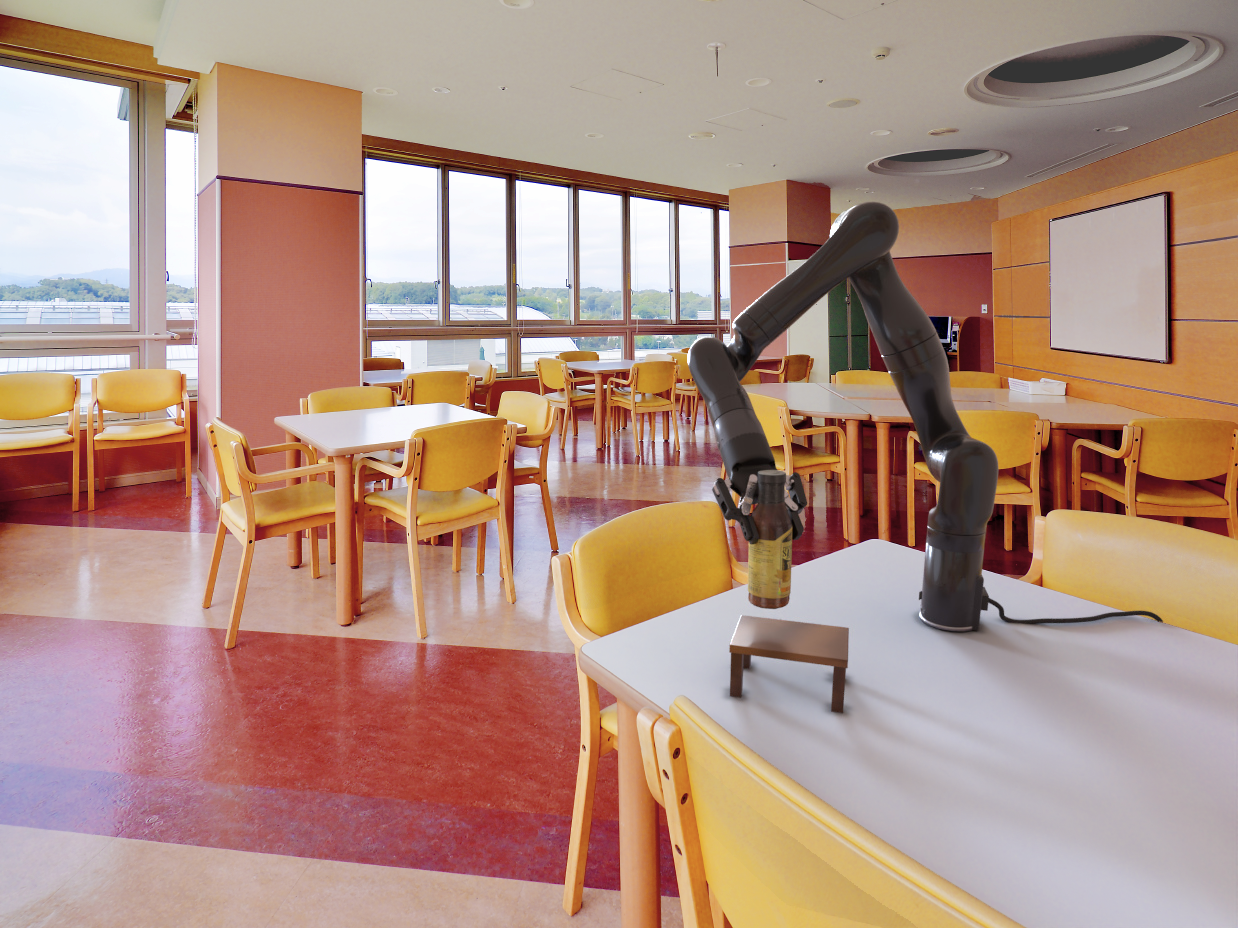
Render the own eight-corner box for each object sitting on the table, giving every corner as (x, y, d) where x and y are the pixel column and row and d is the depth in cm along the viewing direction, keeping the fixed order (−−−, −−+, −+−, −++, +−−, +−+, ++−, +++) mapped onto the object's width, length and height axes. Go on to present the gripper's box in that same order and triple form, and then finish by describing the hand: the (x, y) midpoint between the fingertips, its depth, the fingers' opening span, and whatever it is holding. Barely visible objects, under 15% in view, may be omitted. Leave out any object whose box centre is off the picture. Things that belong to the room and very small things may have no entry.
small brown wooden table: (845, 676, 110) (848, 627, 109) (844, 714, 100) (848, 660, 98) (739, 662, 115) (741, 614, 113) (728, 696, 105) (729, 644, 103)
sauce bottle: (790, 612, 105) (795, 478, 101) (746, 609, 106) (749, 476, 102) (789, 595, 111) (794, 468, 107) (748, 592, 113) (750, 467, 109)
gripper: (706, 433, 109) (739, 531, 100) (793, 428, 113) (831, 522, 104) (693, 461, 115) (722, 556, 106) (775, 455, 119) (810, 546, 110)
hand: (776, 539), depth 105 cm, fingers closed on sauce bottle, 6 cm apart
